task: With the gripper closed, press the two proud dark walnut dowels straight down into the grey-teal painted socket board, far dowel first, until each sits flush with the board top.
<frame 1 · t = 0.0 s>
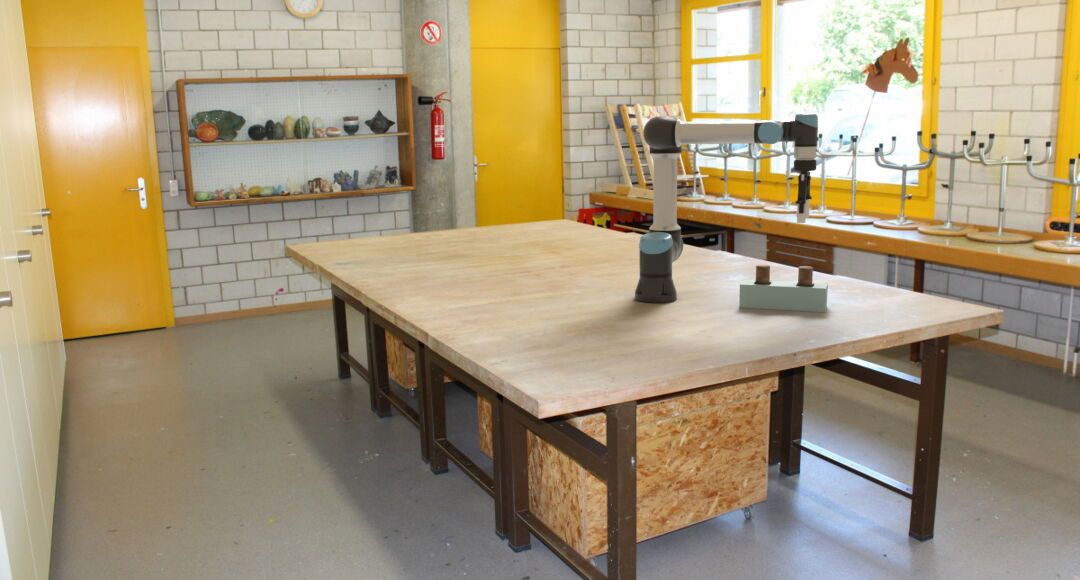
hand: (803, 220, 312), 28 cm above the table, fingers open, 13 cm apart
peg a: (762, 277, 305), point 10 cm above the table, slide at 6.0 cm
peg b: (805, 279, 300), point 10 cm above the table, slide at 6.0 cm
socket board: (782, 306, 305), on the table
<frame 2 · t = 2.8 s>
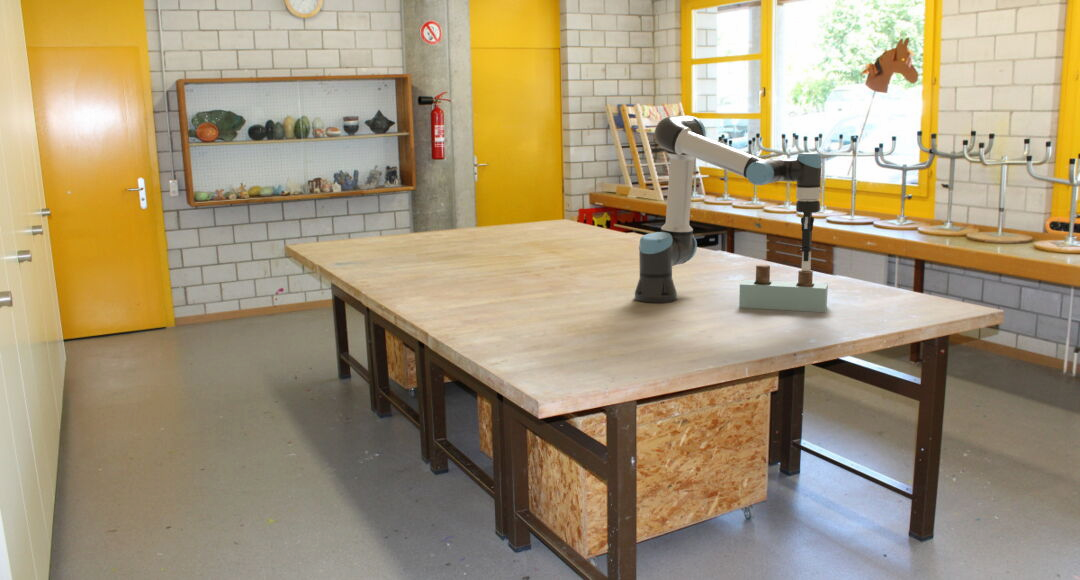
hand: (805, 270, 299), 13 cm above the table, fingers closed
peg b: (805, 282, 300), point 9 cm above the table, slide at 4.8 cm, touching gripper
everything else where it was.
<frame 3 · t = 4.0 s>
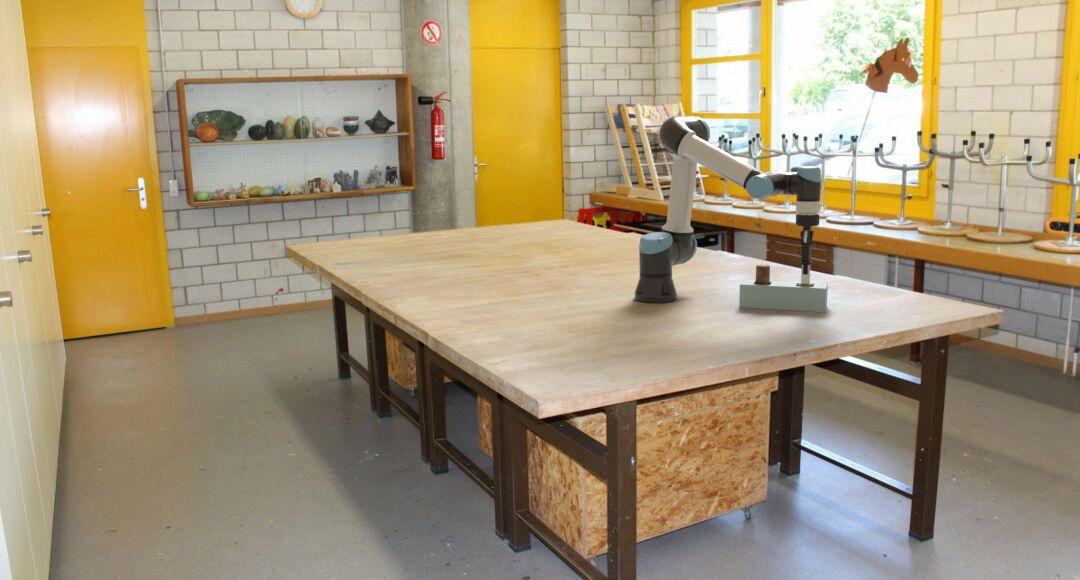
hand: (805, 283, 300), 9 cm above the table, fingers closed
peg b: (804, 295, 301), point 4 cm above the table, slide at 0.3 cm, touching gripper
everything else where it was.
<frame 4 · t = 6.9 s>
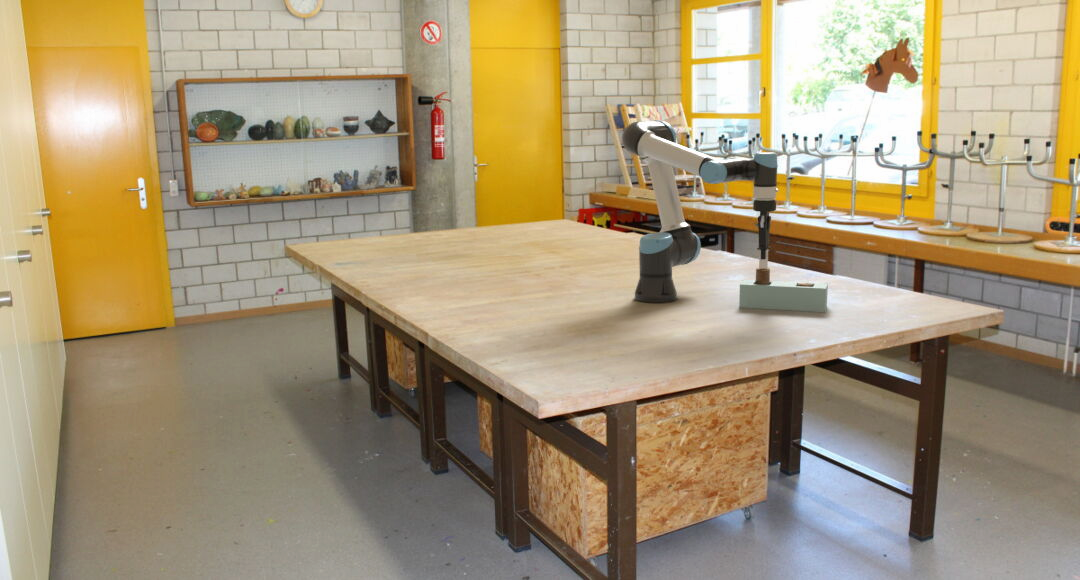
hand: (763, 268, 304), 13 cm above the table, fingers closed
peg a: (762, 280, 305), point 9 cm above the table, slide at 4.9 cm, touching gripper
peg b: (804, 295, 301), point 4 cm above the table, slide at 0.3 cm
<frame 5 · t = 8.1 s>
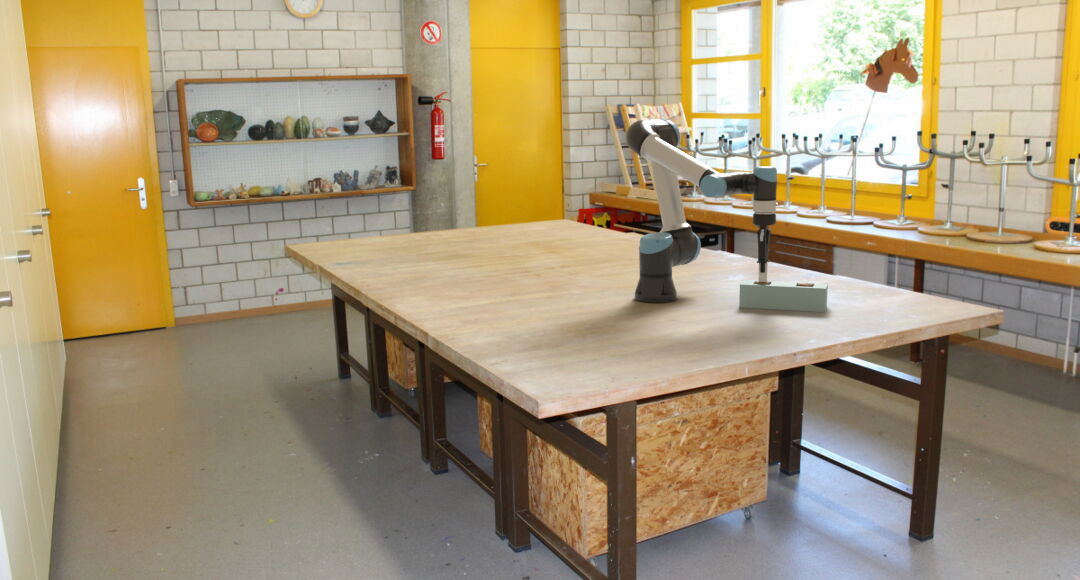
hand: (762, 281, 305), 9 cm above the table, fingers closed
peg a: (762, 293, 306), point 4 cm above the table, slide at 0.3 cm, touching gripper
everything else where it was.
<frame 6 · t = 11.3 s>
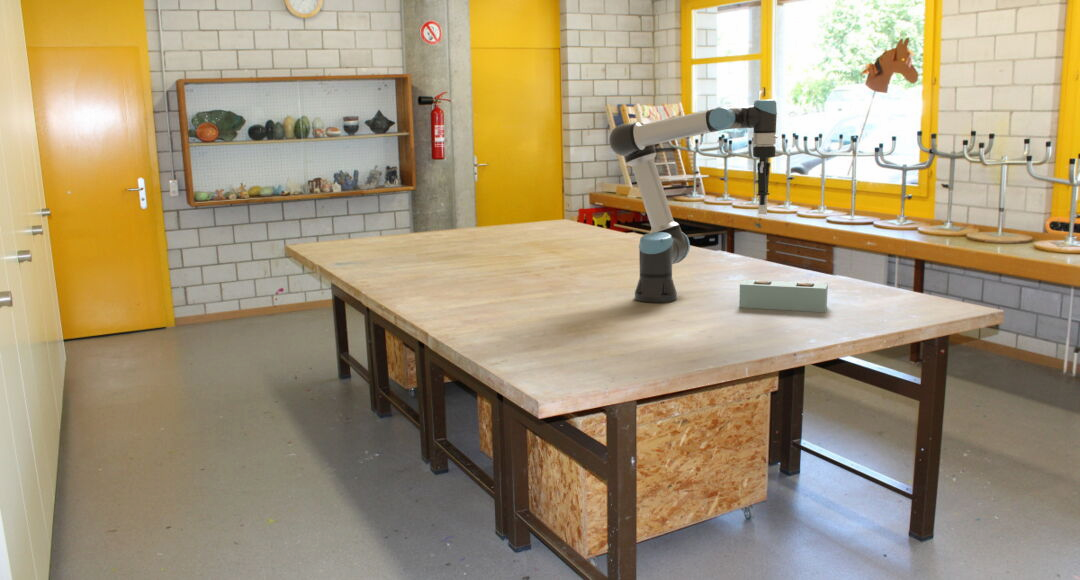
hand: (762, 213, 311), 30 cm above the table, fingers closed
peg a: (762, 293, 306), point 4 cm above the table, slide at 0.3 cm
everything else where it was.
at the end: peg b slide at 0.3 cm; peg a slide at 0.3 cm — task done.
